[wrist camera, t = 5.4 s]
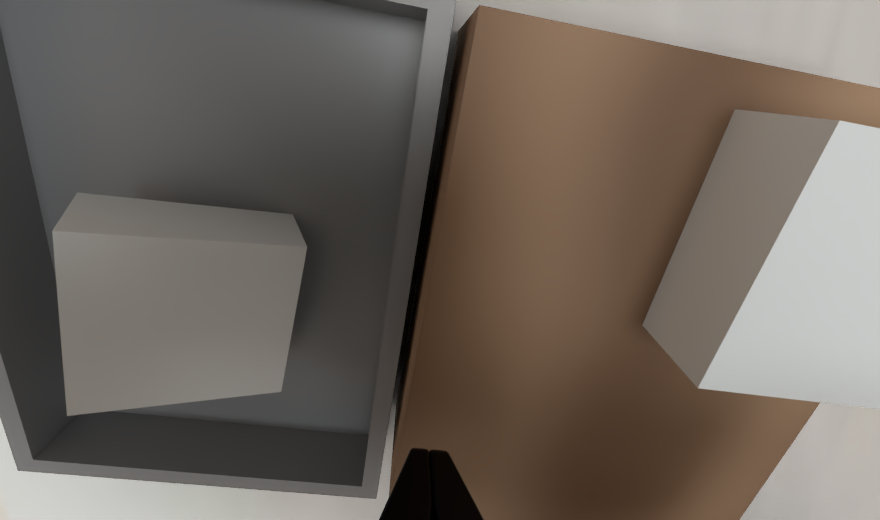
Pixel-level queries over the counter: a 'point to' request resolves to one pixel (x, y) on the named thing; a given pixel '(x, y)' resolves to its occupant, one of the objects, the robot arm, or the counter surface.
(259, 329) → the tile
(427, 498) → the robot arm
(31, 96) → the tray
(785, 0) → the counter surface
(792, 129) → the tile
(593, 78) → the brown wooden block
